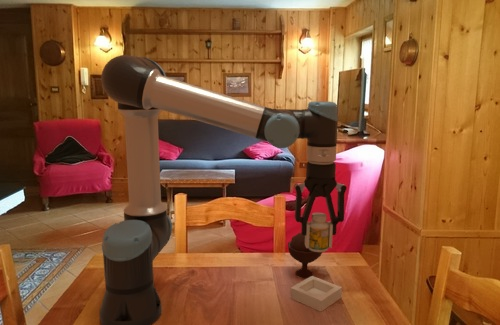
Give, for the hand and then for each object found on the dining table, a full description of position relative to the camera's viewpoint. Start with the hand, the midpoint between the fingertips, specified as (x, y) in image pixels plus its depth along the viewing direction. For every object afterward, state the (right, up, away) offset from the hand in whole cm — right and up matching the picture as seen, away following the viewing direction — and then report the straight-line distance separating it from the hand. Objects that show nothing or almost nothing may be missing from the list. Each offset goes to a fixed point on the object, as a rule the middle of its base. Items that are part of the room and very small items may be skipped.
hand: (318, 245), depth 112 cm
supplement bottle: (0, -1, 0) cm, 1 cm away
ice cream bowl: (-1, -12, +17) cm, 21 cm away
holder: (0, -15, +3) cm, 15 cm away
